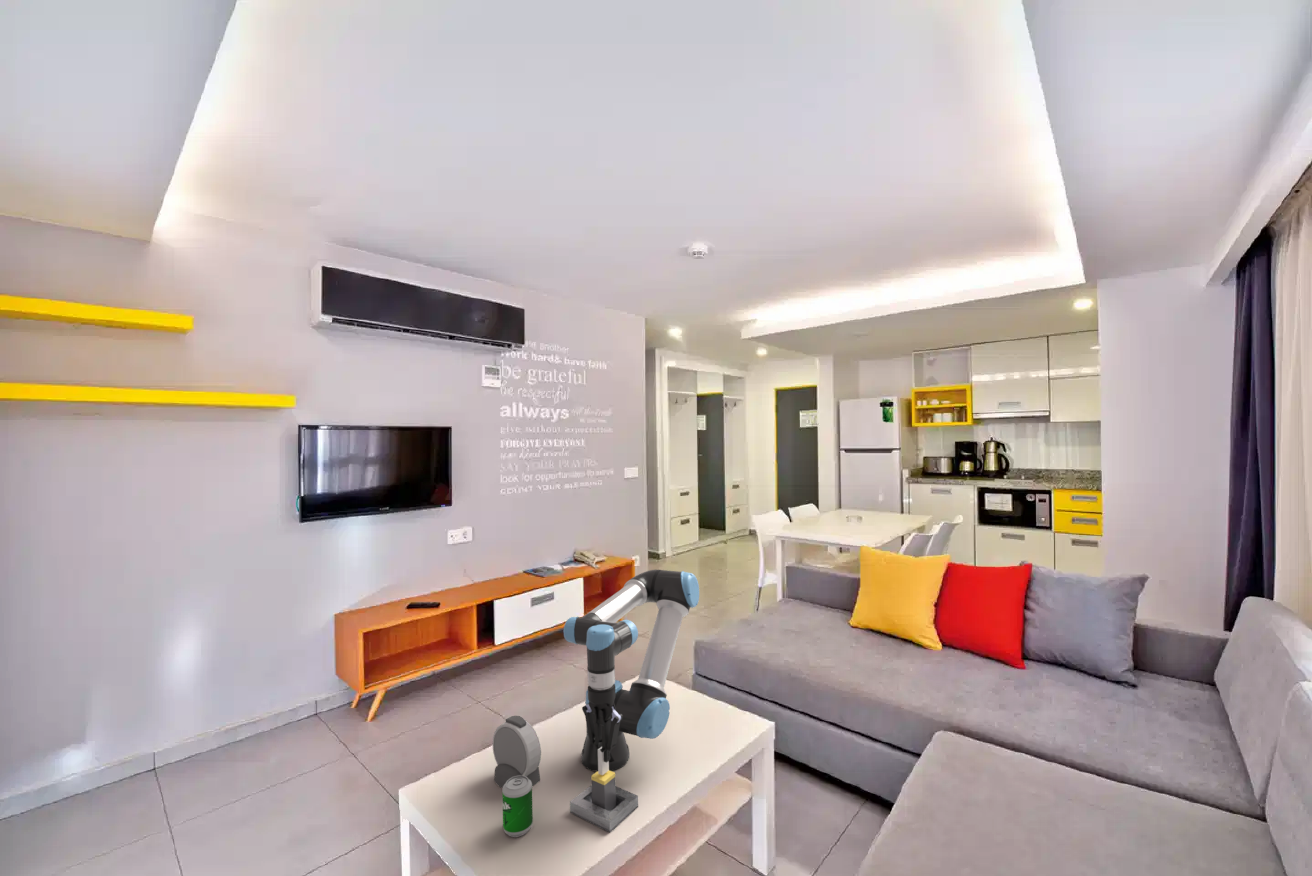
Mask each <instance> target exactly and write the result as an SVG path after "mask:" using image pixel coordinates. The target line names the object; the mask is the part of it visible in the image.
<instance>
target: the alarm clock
mask: <svg viewBox="0 0 1312 876" xmlns="http://www.w3.org/2000/svg"><path fill="white" fill-rule="evenodd" d="M493 733H494V734H493V736H492V751H493V752H492V753H493V757H494V760H495V762H496V766H495V768H494V775H493V776H494V777H493V778H494V779H493V781H494V783H495V784H496V785H497V786H498V787H499V788H501V789H503V786H504V784H505V783H506V782H507V780H509V779H510V778H512V777H514V776H519V775H520V776H526V777H527V778H528V779H529V780H531V782H532V787H534V786H535V785H536V784H538V783H539V782H541V777H540V763H541V759H542V758H541V757H542V749H541V742H540V739H539V738H540V737H539V736H538V734H537V731H536V730H535V727H533V726H532V724H530V722H528V721H527V720H526V719H525V718H523V717H522V716H520V715H512V716H509V717H508V718H506V719H505V722H503V723H502V724H501V723H500V725H498V726H497V727H496V729H495V730H494V732H493Z"/></svg>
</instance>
